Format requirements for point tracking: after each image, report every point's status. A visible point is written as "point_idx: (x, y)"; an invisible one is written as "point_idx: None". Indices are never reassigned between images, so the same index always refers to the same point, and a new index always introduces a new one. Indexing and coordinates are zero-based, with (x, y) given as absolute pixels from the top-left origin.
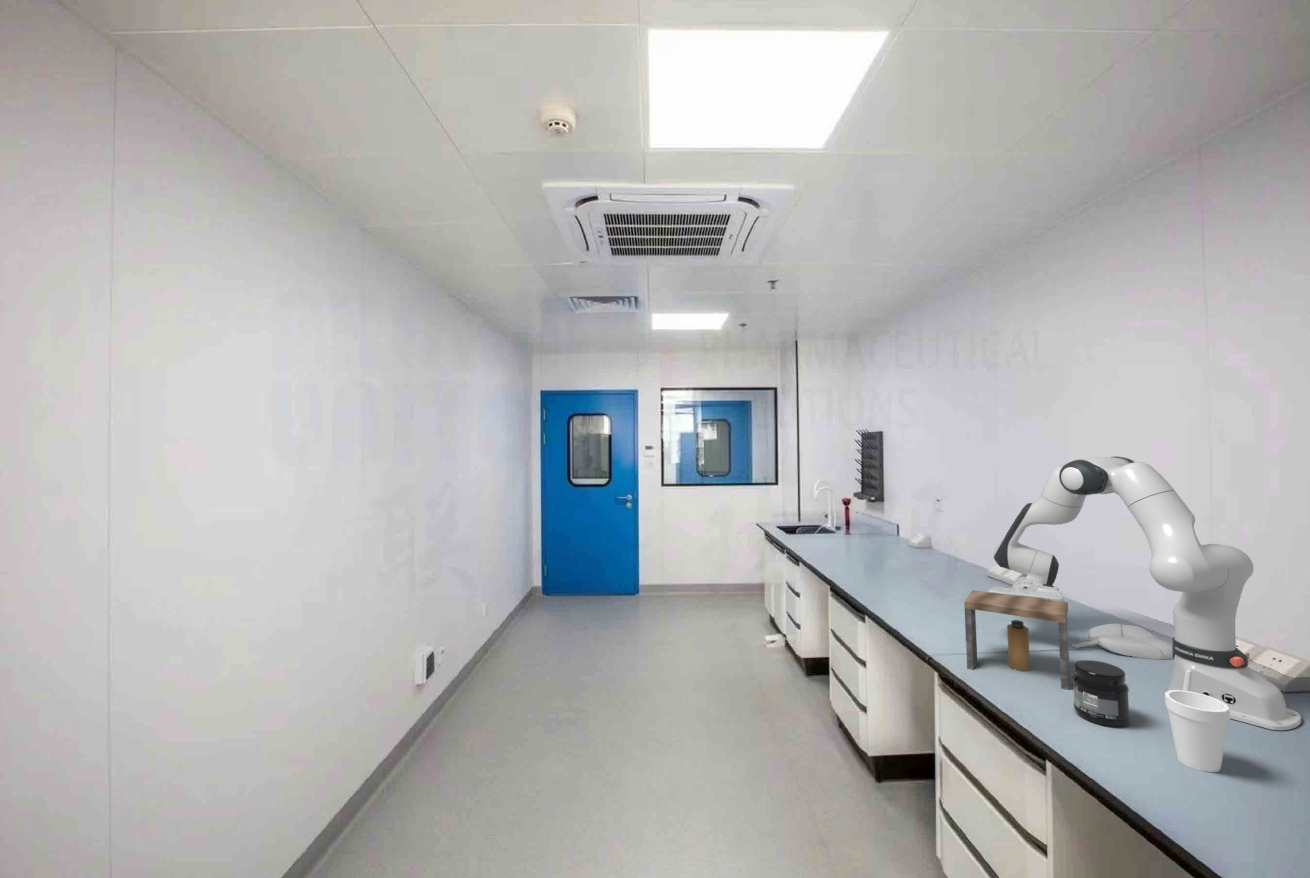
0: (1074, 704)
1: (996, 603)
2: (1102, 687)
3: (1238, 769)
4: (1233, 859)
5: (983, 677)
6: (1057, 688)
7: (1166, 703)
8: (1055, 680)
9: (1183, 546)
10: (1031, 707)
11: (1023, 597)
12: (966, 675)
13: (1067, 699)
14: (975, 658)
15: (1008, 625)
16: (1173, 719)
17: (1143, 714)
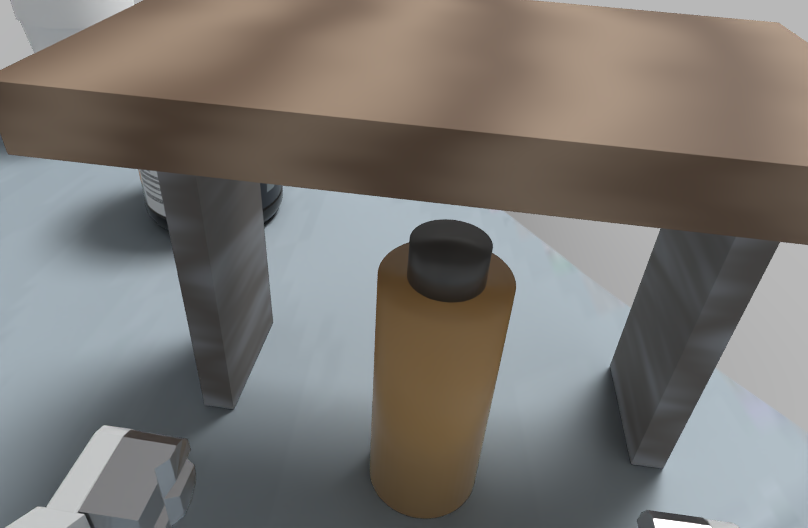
0: (280, 188)
1: (590, 21)
2: None
3: None
4: None
5: (551, 316)
6: (287, 318)
7: (132, 4)
8: (273, 383)
9: None
10: (393, 202)
11: (413, 107)
12: (611, 312)
13: (278, 261)
14: (631, 397)
15: (508, 286)
16: None
17: (72, 245)
